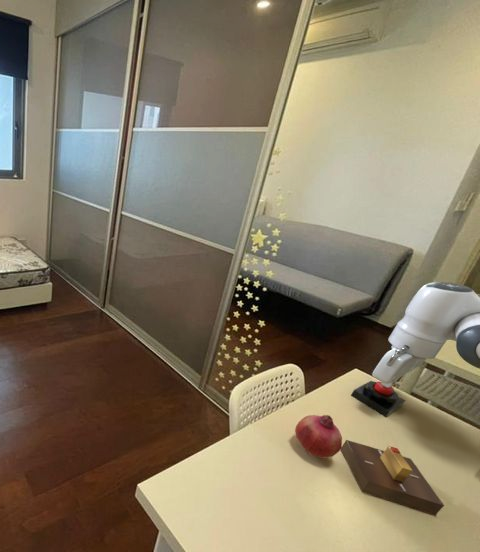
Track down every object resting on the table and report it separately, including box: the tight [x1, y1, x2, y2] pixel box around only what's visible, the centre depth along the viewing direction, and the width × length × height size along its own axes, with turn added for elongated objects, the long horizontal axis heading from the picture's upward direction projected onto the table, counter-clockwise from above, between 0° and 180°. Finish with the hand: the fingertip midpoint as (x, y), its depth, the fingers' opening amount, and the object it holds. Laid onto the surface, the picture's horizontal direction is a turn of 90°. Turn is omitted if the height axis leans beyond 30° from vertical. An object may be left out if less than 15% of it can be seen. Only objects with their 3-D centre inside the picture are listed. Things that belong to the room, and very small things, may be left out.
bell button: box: [374, 380, 395, 396], centre depth 86 cm, size 4×4×2 cm
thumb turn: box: [380, 445, 412, 482], centre depth 64 cm, size 5×2×4 cm, turn 163°
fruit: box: [294, 414, 343, 459], centre depth 68 cm, size 8×8×10 cm
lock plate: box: [340, 439, 445, 516], centre depth 65 cm, size 12×10×3 cm
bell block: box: [350, 380, 406, 418], centre depth 87 cm, size 10×8×4 cm
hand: (387, 384), depth 85 cm, fingers closed
